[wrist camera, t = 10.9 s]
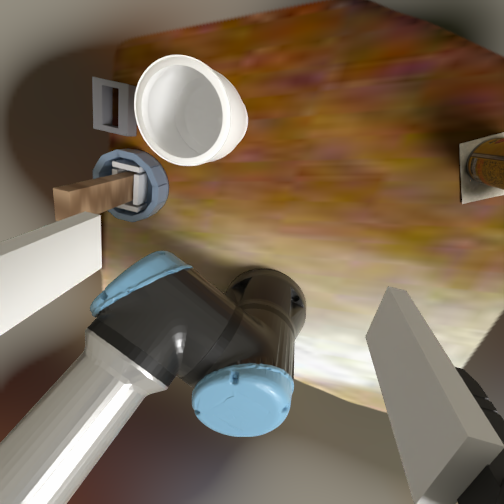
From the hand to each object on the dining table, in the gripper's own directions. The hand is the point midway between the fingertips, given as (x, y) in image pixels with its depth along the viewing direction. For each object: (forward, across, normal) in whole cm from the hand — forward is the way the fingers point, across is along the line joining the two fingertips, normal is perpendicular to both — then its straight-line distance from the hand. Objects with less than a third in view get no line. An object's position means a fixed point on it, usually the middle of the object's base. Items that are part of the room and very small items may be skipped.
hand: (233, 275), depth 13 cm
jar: (+35, +11, -6) cm, 37 cm away
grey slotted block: (+35, +27, -4) cm, 44 cm away
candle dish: (+35, +24, +7) cm, 43 cm away
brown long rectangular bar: (+34, +24, +7) cm, 42 cm away
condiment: (+35, -27, -7) cm, 45 cm away
